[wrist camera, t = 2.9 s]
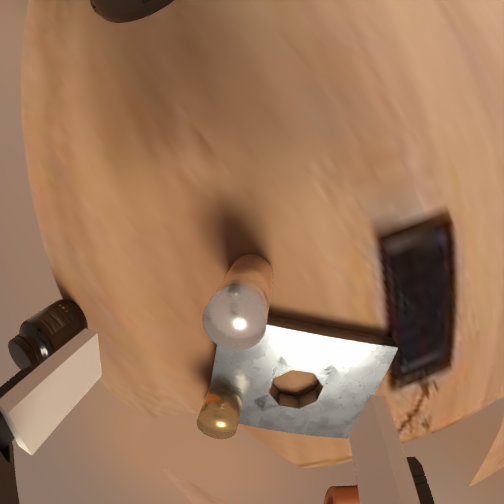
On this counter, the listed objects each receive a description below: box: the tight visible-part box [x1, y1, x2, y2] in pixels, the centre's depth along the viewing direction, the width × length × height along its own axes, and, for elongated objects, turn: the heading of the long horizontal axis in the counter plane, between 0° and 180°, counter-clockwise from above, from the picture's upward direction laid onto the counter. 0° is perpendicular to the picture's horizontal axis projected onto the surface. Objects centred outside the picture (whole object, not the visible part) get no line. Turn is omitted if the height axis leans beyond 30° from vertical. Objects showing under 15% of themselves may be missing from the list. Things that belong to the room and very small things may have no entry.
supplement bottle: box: [8, 299, 87, 370], centre depth 30 cm, size 7×7×12 cm
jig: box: [197, 314, 398, 439], centre depth 30 cm, size 20×16×7 cm
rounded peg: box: [203, 254, 273, 351], centre depth 26 cm, size 5×5×11 cm
